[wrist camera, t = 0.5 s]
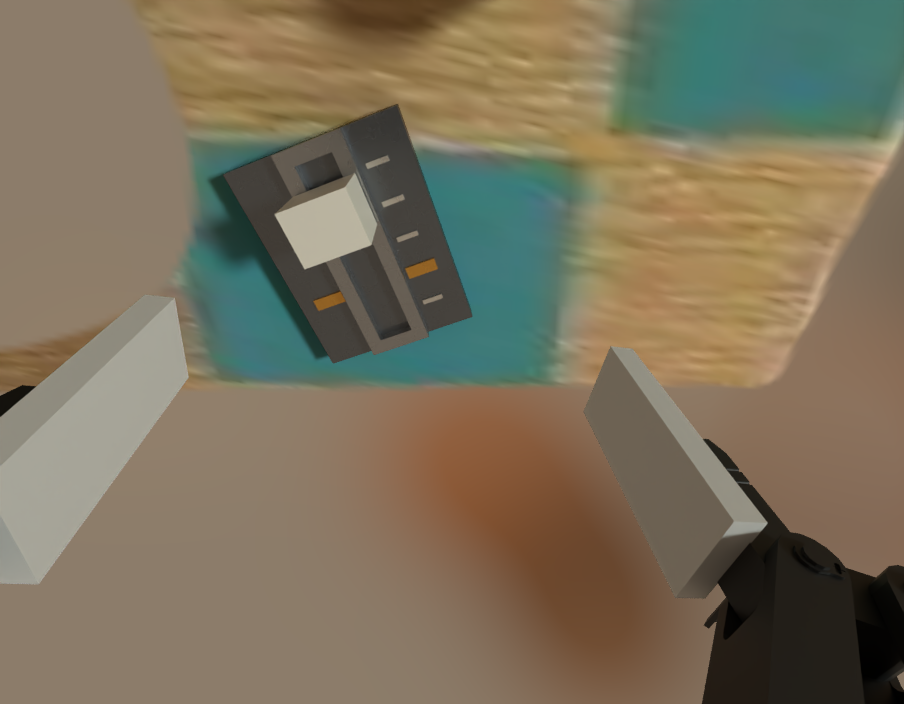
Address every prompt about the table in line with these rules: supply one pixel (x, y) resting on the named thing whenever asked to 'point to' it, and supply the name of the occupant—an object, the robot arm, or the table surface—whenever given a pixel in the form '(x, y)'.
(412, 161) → the console
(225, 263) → the table surface
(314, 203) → the fader tab
